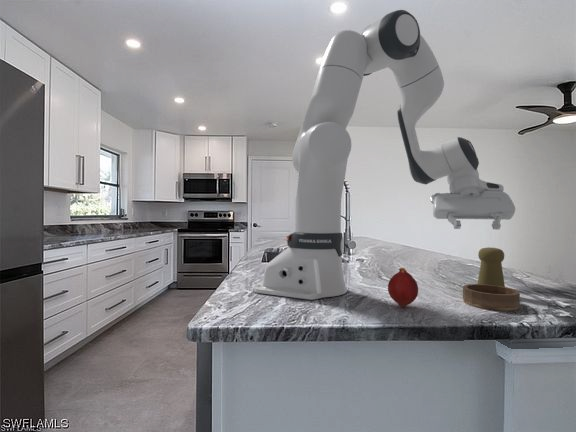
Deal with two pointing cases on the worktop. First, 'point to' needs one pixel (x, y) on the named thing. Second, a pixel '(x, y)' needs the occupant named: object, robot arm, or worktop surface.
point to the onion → (403, 288)
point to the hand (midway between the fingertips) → (477, 227)
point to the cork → (491, 267)
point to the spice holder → (491, 297)
